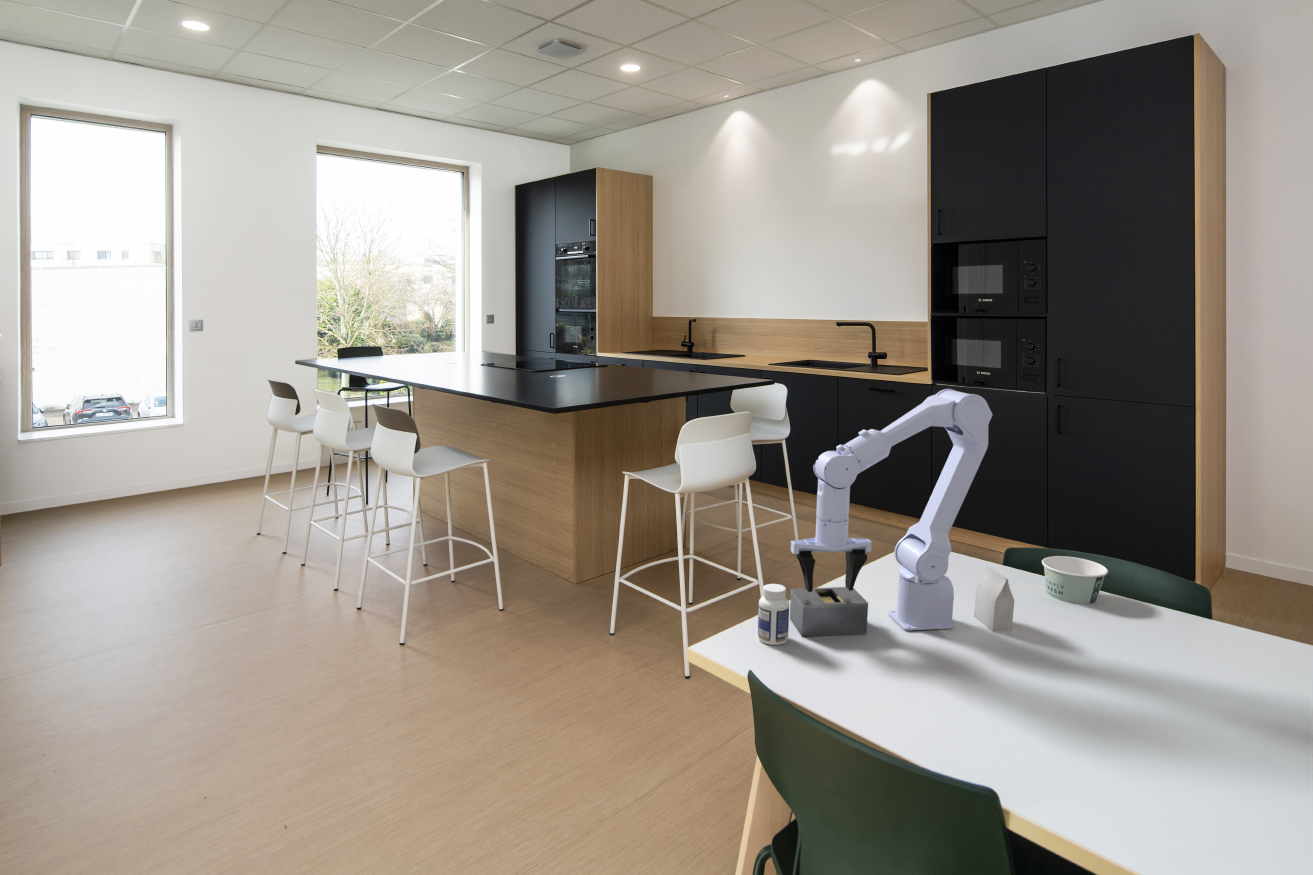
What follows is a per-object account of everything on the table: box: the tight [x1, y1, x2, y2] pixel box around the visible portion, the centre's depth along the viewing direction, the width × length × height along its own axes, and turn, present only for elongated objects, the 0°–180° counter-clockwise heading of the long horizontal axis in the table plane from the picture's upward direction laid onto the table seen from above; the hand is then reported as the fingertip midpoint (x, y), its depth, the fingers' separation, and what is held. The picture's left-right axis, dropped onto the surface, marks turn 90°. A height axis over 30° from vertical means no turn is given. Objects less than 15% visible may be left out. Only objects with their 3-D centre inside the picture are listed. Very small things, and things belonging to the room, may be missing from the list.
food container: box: [1041, 555, 1109, 605], centre depth 156 cm, size 12×12×6 cm
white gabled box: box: [973, 566, 1015, 632], centre depth 142 cm, size 4×7×10 cm, turn 5°
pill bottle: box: [757, 583, 790, 646], centre depth 134 cm, size 5×5×10 cm
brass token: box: [821, 597, 835, 603], centre depth 140 cm, size 2×4×5 cm, turn 5°
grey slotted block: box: [789, 586, 869, 638], centre depth 140 cm, size 12×8×6 cm, turn 96°
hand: (829, 589), depth 140 cm, fingers open, 7 cm apart
